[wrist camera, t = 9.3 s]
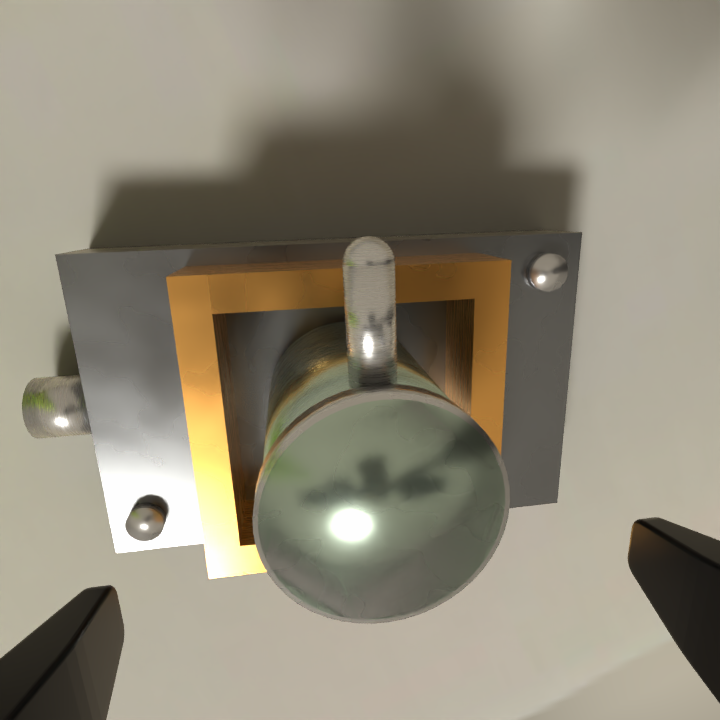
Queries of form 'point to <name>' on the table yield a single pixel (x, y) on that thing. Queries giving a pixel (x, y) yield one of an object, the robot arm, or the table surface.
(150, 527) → the grey orange socket fixture
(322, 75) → the table surface
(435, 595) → the spout can
